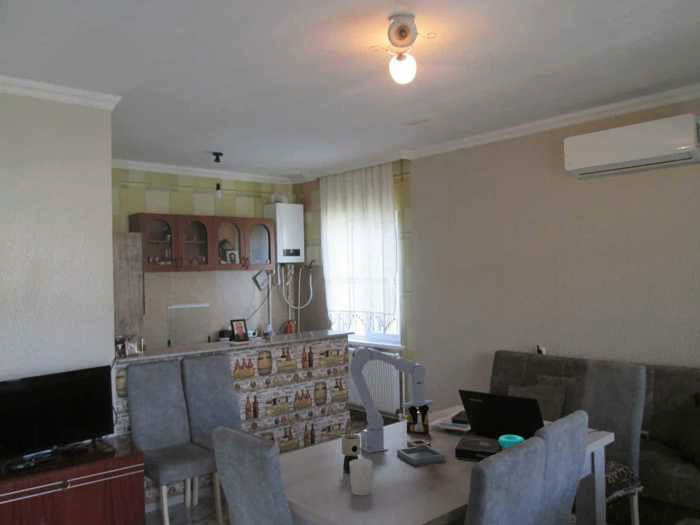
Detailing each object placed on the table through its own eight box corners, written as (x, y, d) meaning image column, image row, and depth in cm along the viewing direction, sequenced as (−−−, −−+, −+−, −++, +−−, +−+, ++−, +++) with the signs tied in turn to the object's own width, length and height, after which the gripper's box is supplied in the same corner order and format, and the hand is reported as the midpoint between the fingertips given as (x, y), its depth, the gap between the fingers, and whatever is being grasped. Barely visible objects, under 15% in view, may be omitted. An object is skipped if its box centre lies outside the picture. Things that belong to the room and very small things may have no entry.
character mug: (350, 477, 204) (350, 442, 204) (335, 473, 208) (334, 439, 209) (367, 468, 213) (366, 434, 213) (351, 465, 217) (351, 432, 217)
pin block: (415, 450, 234) (415, 445, 234) (407, 445, 241) (407, 441, 241) (431, 448, 237) (431, 443, 237) (422, 443, 244) (422, 438, 244)
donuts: (521, 433, 221) (528, 441, 211) (522, 459, 221) (528, 467, 211) (496, 433, 222) (501, 441, 212) (496, 459, 222) (502, 467, 212)
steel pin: (417, 432, 237) (417, 413, 237) (413, 430, 240) (413, 411, 240) (423, 431, 238) (423, 412, 238) (419, 429, 241) (419, 411, 241)
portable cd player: (501, 450, 234) (501, 440, 234) (497, 462, 218) (496, 452, 218) (462, 446, 240) (462, 437, 240) (455, 458, 224) (455, 448, 224)
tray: (414, 466, 215) (414, 459, 215) (397, 455, 228) (396, 449, 228) (444, 460, 220) (444, 454, 220) (426, 450, 233) (426, 445, 233)
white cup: (359, 485, 196) (359, 457, 196) (377, 491, 191) (376, 461, 191) (345, 492, 190) (344, 463, 190) (363, 498, 185) (362, 468, 185)
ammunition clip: (406, 432, 261) (406, 407, 261) (407, 431, 262) (407, 406, 263) (428, 435, 256) (427, 409, 256) (429, 434, 258) (428, 408, 258)
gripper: (407, 395, 233) (408, 427, 232) (437, 391, 238) (437, 423, 238) (399, 392, 239) (400, 423, 239) (428, 388, 245) (429, 419, 245)
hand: (418, 423), depth 239 cm, fingers closed on steel pin, 3 cm apart
